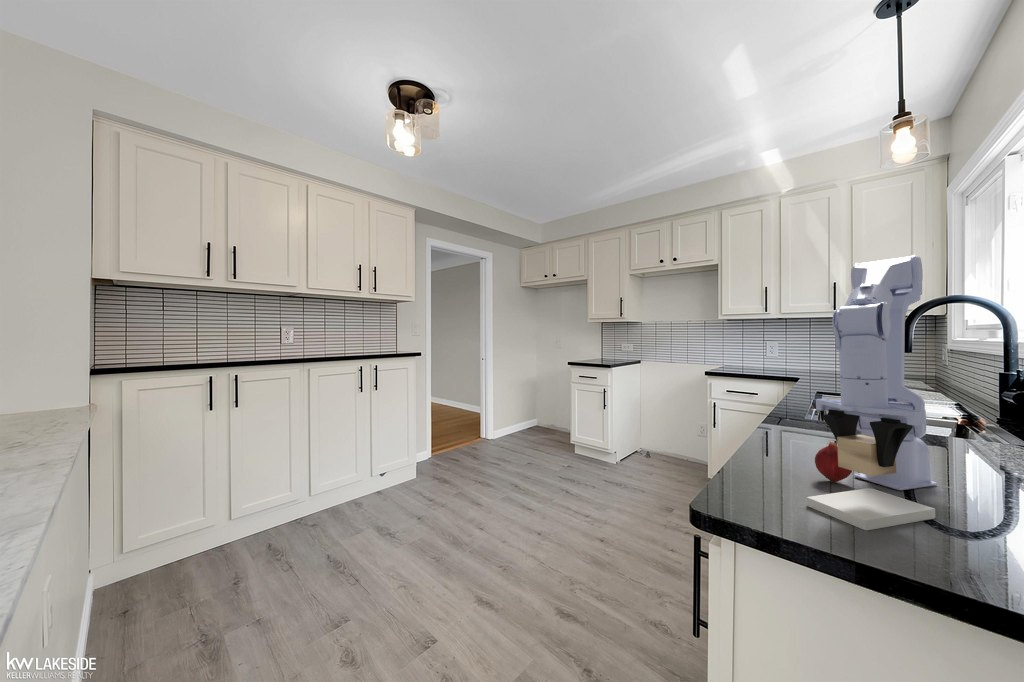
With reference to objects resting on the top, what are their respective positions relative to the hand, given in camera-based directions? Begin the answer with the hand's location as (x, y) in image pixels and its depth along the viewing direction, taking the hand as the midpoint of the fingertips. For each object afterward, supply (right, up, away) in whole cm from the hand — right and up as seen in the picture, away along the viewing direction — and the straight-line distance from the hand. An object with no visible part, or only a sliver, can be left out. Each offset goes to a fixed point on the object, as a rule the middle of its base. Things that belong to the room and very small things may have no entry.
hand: (866, 460), depth 63 cm
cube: (0, -1, 0) cm, 1 cm away
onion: (+6, -8, +13) cm, 16 cm away
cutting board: (0, -8, 0) cm, 8 cm away
